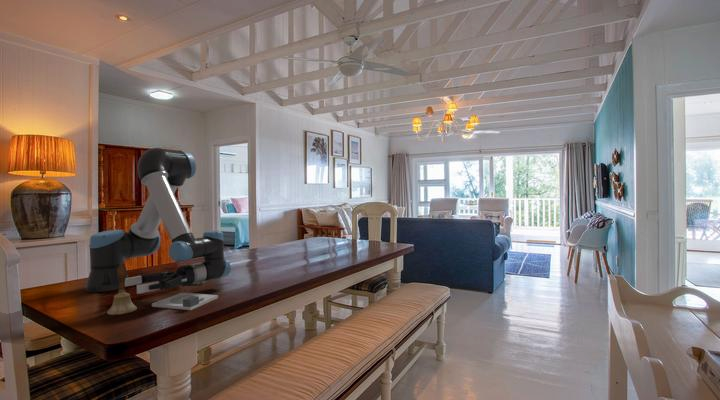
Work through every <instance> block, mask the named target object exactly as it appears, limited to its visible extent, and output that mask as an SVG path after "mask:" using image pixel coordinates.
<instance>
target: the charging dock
mask: <svg viewBox="0 0 720 400" xmlns="http://www.w3.org/2000/svg"><path fill="white" fill-rule="evenodd" d="M218 298H219V295H217V294H206V293H205V294H204V293H193V292H180V293H177V294H175V295H172V296H169V297H166V298H163V299H161V300H158V301H155V302H153V303H151V307H153V308H162V309H175V310H184V311H185V310H186V311H193V310H194V309H196V308H199V307H202V306H203V305H206V304H208V303H211V302H212V301H214V300H217V299H218Z"/></svg>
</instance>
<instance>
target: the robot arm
mask: <svg viewBox="0 0 720 400" xmlns="http://www.w3.org/2000/svg"><path fill="white" fill-rule="evenodd" d="M136 169H137V175H138V178H139V181H140V182H141V184H142V185H144V186H146V189H147V190H148V193H149V195H148V197H147V199H146V201H145V204H144V205H143V208H142V210H141V212H140V215H139V217H138V219H137V221H136V222H135V223H134V222H133V223H132V224H131V225H130V227H129V229H128V231H124V230H123V229H112V230H111V229H110V230H103V231H101V232H100V231H99V232H96V233H94V234H92V235H91V236H90V238H89V246H88V247H89V259H90V260H89V263H90V270H89V275H88V278H87V281H86V283H85V292H87V293H88V292H90V293H102V292H111V291H116V290H119V280H118V276H117V271H118V267H119V265H120V263H124V264H125V262H126V261H125V260H127V259H133V258H140V257H147V256H149V255H153V254H155V253H156V252H157V251H158V250H159V248H160V246H161V239H162V238H161V235H160V230H159V227H160V225H161V222H162V224H163V225H164V228H165V230H166V232H167V235H168V236H169V239H170V241H171V243H170V245H169V247H168V252H169V253H168V255H169V257H170V259H171V260H172V261H174V262H176V263H178V262H179V263H180V262H188V261H191V260H195V259H199V258H203V262H202V261H201V262H195V263H190V264H185V265H180V266H179V267H177V270H176V271H175V272H174V271H162V272H161V271H160V272H152V273H141V274H139V275H137V276H132V277H129V274H128V273H127V275H126V279H125V288H128V287H130V286H135V285H136V294H137V295H138V294H144V293H149V292H153V291H154V292H155V291H157V290H158V291H159V290H165V291H167V290H169V289H172V288H175V287H178V286H182V287H185V286H190V284H192V283H193V284H194V283H197V284H199V283H200V282H203V281H208V280H209V281H213V280H217V279H222V278H225V277H228V276H229V275H230V273H231V270H232V265H231V263H230V261H229V259H228V258H225V255H224V254H225V252H224V251H225V249H224V248H225V246H224V244H225V243H224V241H225V240H224V239H225V238H224V232H223V231H222V230H206V231H204V232H203V233H202V237H197V238H195V236H194V233H193V232H192V230H191V228H190V226H189V223H188V221H187V219H186V217H185V215H184V213H183V211H182V208H181V206H180V204H179V202H178V200H177V197H176V194H175V193H176V191H177V189H178V188H180V187H183V185H184V183H185V181H186V179H187V180H188V179H191V178H192V177H194V176H195V174H196V172H197V163H196V159H195V157H194V156H193V154H191V153H190V152H188V151H184V150H182V149H181V150H178V149H169V148H162V147H154V148H153V147H152V148H149V149H147V150H146V151H144V152H143V153H142V154H141V156H140V157H139V159H138V162H137V168H136ZM209 281H208V282H209Z"/></svg>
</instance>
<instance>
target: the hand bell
mask: <svg viewBox="0 0 720 400" xmlns="http://www.w3.org/2000/svg"><path fill="white" fill-rule="evenodd" d="M124 263H125V262H124ZM124 263H120V265H119V267H118V271H117V276H118V280H119V289H118V293H117V294H115V295H114V296H113V302H112V305H111V307H110V308H109V309H108V310H107V312H106V314H107V315H109V316H115V315H117V316H118V315H125V314H128V313H132V312H134V311H136V310H137V309H138V308H137V305H135V304H134V303H133V302H132V300H131V299H132V298H131V294H130V293H128V292H126V287H125V279H126V275H127V274H128V272H127V271H128V270H127V267H126V265H125V264H124Z"/></svg>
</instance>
